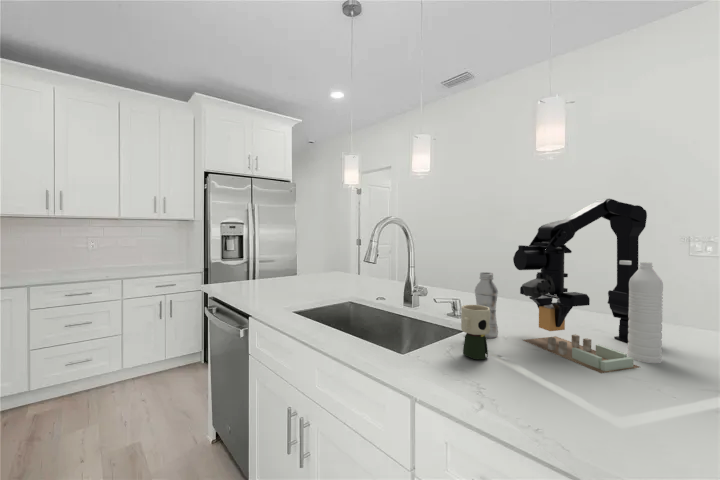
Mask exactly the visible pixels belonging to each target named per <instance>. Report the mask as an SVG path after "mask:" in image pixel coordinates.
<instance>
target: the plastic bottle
mask: <svg viewBox="0 0 720 480" xmlns="http://www.w3.org/2000/svg"><path fill="white" fill-rule="evenodd" d="M479 280H480V281H479V282H478V283H477V284H476V286H475V288H474V293H475V294H474V295H475V296H474V297H475V301H476V302H475V303H476V304H475V305H482V306H486V307H489V308H490V321H489V326H490V332H489V333H488V334H485V337H486V339H495V338H497V337H498V336H499V335H498V334H499V329H498V328H499V326H498V324H497V323H498V321H497V300H498V294H499V291H498V287H497V285H495V283H494V282H493V280H494V273H493V272H480V273H479Z"/></svg>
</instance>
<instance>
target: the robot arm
mask: <svg viewBox="0 0 720 480" xmlns="http://www.w3.org/2000/svg"><path fill="white" fill-rule="evenodd" d="M647 216H648V213H647V210H646V209H645V208H643V206H641V205H639V204H638V205H635V204H630V203H626V202H622V201H618V200H615V199H613V198H602V199H597V200H594V201H593V202H592V203H591V204H589V205H587V206H585V207H584V208H581V209H580V210H579V211H578V210H577V212H574V213H573V214H571V215H569V216H567V217H566V218H563V219H560V220H555V221H551V222H549V223H545V224H542V225H541V226H540V227H538V228H537V233H536V235H535V236H534V238H533V239H532V241H531V242H530V243H529V244H528V245H522V244H521V245H517V246H518V248H517V250H516V252H515V253H514V256H513V257H512V258H513V261H512V262H513V265H514V267H515V268H516V269H517V270H518V271H538V270H539V271H540V272H539V271H538V272H537V273H536V275H535V276H536V278H534V279H531V280H529V281H526V282H525V283H523V284H522V285H521V286H520V288H519V294H520V295H523V296H525V297H529V299H530V300H532V301H533V302H534V303H535V304H536V306H537V309H539V306H544V305H553V306H554V308H555V323H556V327H560V326H561V324H562V323H563V321H564V319H565V320H566V317H567V316H568V314H569V313H570V311H571V310H572V309H573V307H584V306H590V301H591V299H590V297H589V296H588V294H587V293H583V292H577V291H574V292H573V291H570V292H568V290H569V289H568V288H566V287H565V278H568V276H569V273H566V272H565V254H572V252H573V251H572V250H571V249H570V248H569V247H568V246H567V245H566V244H567V243H569V242H570V241H571V240H572V239H573V238H574V237H575V234H576V233H577V232H578V231H580V230H581V229H583V228H585V227H587V226H589V225H590V224H592V223H594V222H595V221H597V220H599V219H601V218H602V219H604V220H607V221H609V223H610V225H609V226H610V229H611V230H612V232H613V234H614V235H615V237H616V285H615V287H614V288H613V289H612V290H608V292H607V296H608V300H607V304H608V306H609V309H610V310H611V313H612V316H613V318H617V319H619V325H618V335H617V336H614V337H613V338H614V339H615V340H618V341H621V342H625V343H628V342H629V341H628V333H629V332H628V328H629V326H628V320H629V318H628V312H629V280H630V278H631V277H632V276H633V274H634V273H635V272H636V271H637V270H638V269H639V238H640V237H639V236H640V235H641V234H642V232H643V231H644V230H645V228H646V226H647V224H646V223H647V218H648V217H647ZM620 260H625V261H632V262H631V265H621V264H619V261H620ZM553 299H556V302H553Z"/></svg>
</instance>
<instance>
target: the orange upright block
mask: <svg viewBox="0 0 720 480" xmlns="http://www.w3.org/2000/svg"><path fill="white" fill-rule="evenodd" d="M565 322H566V318H565V319H564V321H563V323H562V324H561V326H560V327H556V323H555V308H554V306H553V305H544V306H539V308H538V328H539V329H543V330H546V331H548V332H556V331H565V330H566V329H565V328H566V325H565Z"/></svg>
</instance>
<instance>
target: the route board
mask: <svg viewBox="0 0 720 480" xmlns="http://www.w3.org/2000/svg"><path fill="white" fill-rule="evenodd" d="M580 337H581V336H580V335H579V334H577V333H575V334H571V341H570V340H567V339H565V338H562V337H560V336H556V335H555V336H547V337H545V336H544V337H537V338H528V339H522V341H523V342H526V343H529V344H531V345H533V346H535V347H538V348H540V349H542V350H544V351H547V352H550V353H551V354H555V355H557V356H559V357H561V358H563V359H566V360H569V361H570V362H573V363H575V364H578V365H580V366H583V367H585V368H587V369H590V370H592V371H594V372H597V373H599V374H605V373H613V372H619V371H625V370H631V369H638V368H640V365H639V366H638V365H637V364H634V363H633V367H630V368H624V369H617V370H610V371H603V370H601V368H600V369H598V368H595V367H593V366H591V365H588V364H586V363H583V362H581V361H578V360H576V359H574V358H572V348H578V349H581V350H583V351H586V352H589V353H591V354H594V355H596V349H593V348H592V339H590V338H588V337H586V338H583V339H582V345H581V344H580ZM597 356H598V355H597ZM599 357H600V356H599ZM604 360H609V359H606V358H603V357H602V361H604Z"/></svg>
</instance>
